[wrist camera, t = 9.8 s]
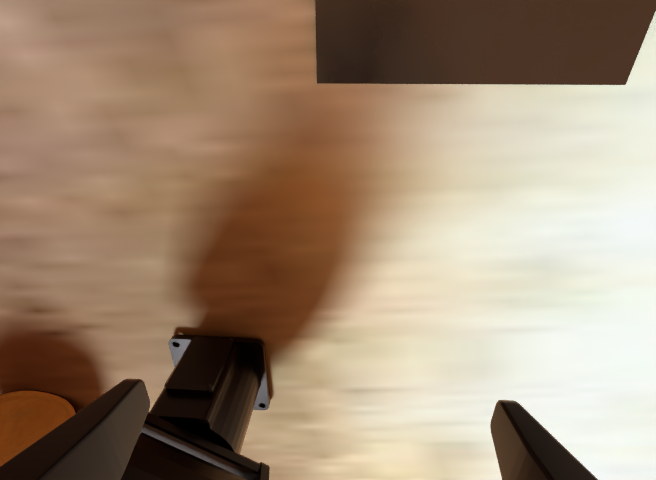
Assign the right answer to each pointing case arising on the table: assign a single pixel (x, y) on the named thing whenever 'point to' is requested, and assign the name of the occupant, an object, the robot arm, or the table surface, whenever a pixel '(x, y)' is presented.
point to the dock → (480, 41)
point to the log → (28, 419)
